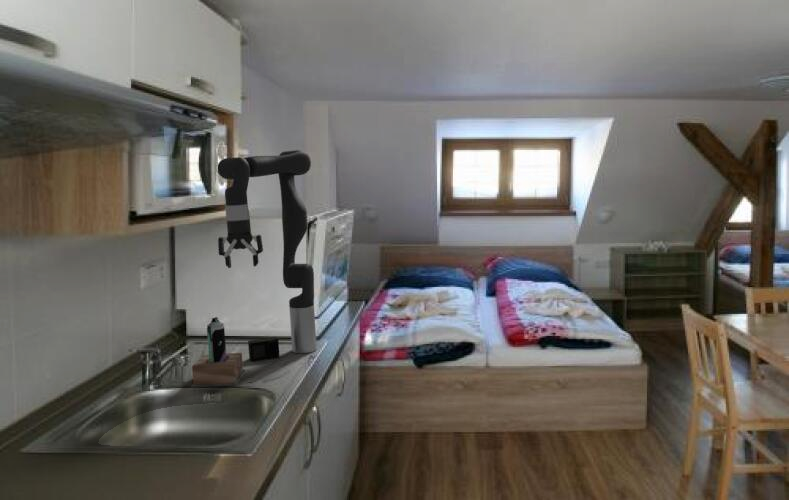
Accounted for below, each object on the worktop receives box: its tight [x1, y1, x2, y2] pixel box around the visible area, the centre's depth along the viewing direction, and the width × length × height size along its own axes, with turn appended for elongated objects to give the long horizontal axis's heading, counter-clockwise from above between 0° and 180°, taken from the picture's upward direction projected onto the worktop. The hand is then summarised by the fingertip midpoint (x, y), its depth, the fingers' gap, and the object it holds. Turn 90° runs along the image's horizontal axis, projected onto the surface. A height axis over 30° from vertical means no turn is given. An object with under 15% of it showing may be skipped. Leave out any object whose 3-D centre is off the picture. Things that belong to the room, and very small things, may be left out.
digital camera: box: [247, 336, 281, 362], centre depth 223 cm, size 10×5×7 cm, turn 113°
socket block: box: [191, 352, 246, 389], centre depth 201 cm, size 14×14×7 cm
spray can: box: [206, 316, 227, 363], centre depth 200 cm, size 6×6×20 cm
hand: (242, 266), depth 204 cm, fingers open, 8 cm apart
